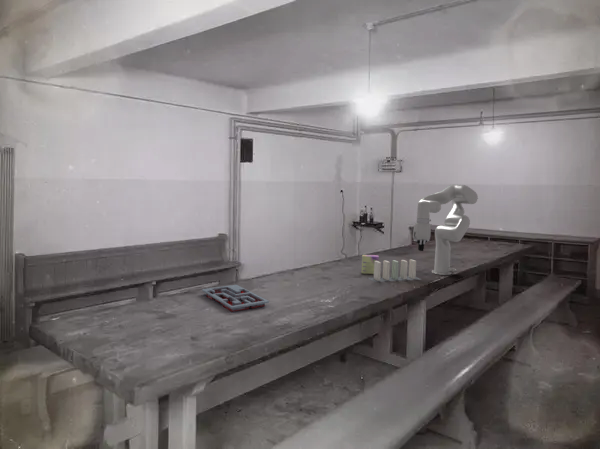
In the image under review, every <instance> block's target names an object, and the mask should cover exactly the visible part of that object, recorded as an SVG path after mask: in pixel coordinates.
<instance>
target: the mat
mask: <svg viewBox="0 0 600 449" xmlns="http://www.w3.org/2000/svg"><path fill="white" fill-rule="evenodd" d="M367 279H368V280H370V281H372V282H373V283H381V282H382V283H383V282H399V281H400V282H402V281H416V280H418V281H420V280H422V278H419V277H418V276H415V279H412V278H410V277H409V275H407V279H402V278H400V275H398V280H395V279H393V278H391V276H389V280H385V279H383V276H382V277H381V276H380V281H377V280H375V279H374V277H367Z"/></svg>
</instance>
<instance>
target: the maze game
mask: <svg viewBox="0 0 600 449" xmlns="http://www.w3.org/2000/svg"><path fill="white" fill-rule="evenodd" d="M201 291H202V292H203V293H205V294H206V297H207V298H209V299H210V300H214V301H216V302H218V303H219V304H221V305H222V307H223V308H225V309H227V310H228V311H230V312H231V313H233V312H238V311H245V310H249V309H255V308H261V307H266V306H265V304H269V303H270V300H268V299H266V298H263V297H262V296H259V295H258V294H256V293H254V292H253V291H250V290H249V289H246V288H244V287H243V286H240V285H238V284H232V285H230V284H229V285H222V286H217V287H216V286H215V287H209V288H208V287H207V288H201Z"/></svg>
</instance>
